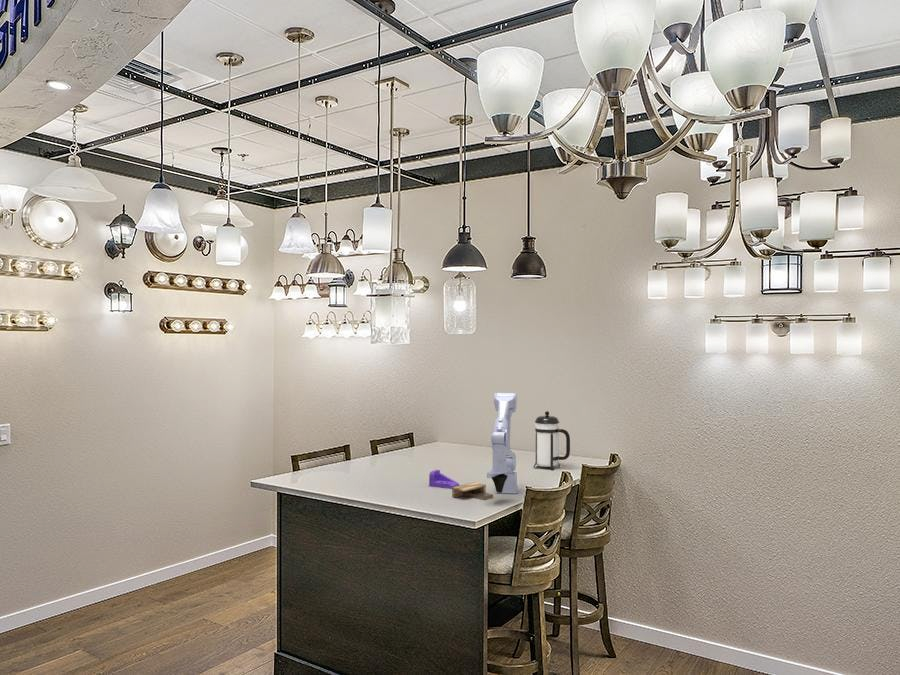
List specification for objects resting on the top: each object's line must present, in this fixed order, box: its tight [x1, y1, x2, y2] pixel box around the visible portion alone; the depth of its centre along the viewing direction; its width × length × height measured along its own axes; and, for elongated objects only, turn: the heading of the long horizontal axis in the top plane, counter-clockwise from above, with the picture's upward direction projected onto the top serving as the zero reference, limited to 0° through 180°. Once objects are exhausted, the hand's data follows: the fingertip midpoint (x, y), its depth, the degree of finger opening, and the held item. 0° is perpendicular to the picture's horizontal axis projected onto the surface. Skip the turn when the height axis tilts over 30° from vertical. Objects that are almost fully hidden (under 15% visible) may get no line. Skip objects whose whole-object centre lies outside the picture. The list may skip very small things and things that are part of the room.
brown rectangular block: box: [451, 481, 487, 498], centre depth 286 cm, size 7×14×4 cm, turn 136°
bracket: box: [428, 469, 460, 490], centre depth 305 cm, size 12×7×7 cm, turn 64°
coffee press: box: [533, 410, 571, 471], centre depth 350 cm, size 17×16×30 cm
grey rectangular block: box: [462, 490, 494, 501], centre depth 285 cm, size 12×6×2 cm, turn 46°
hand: (499, 492), depth 277 cm, fingers closed
